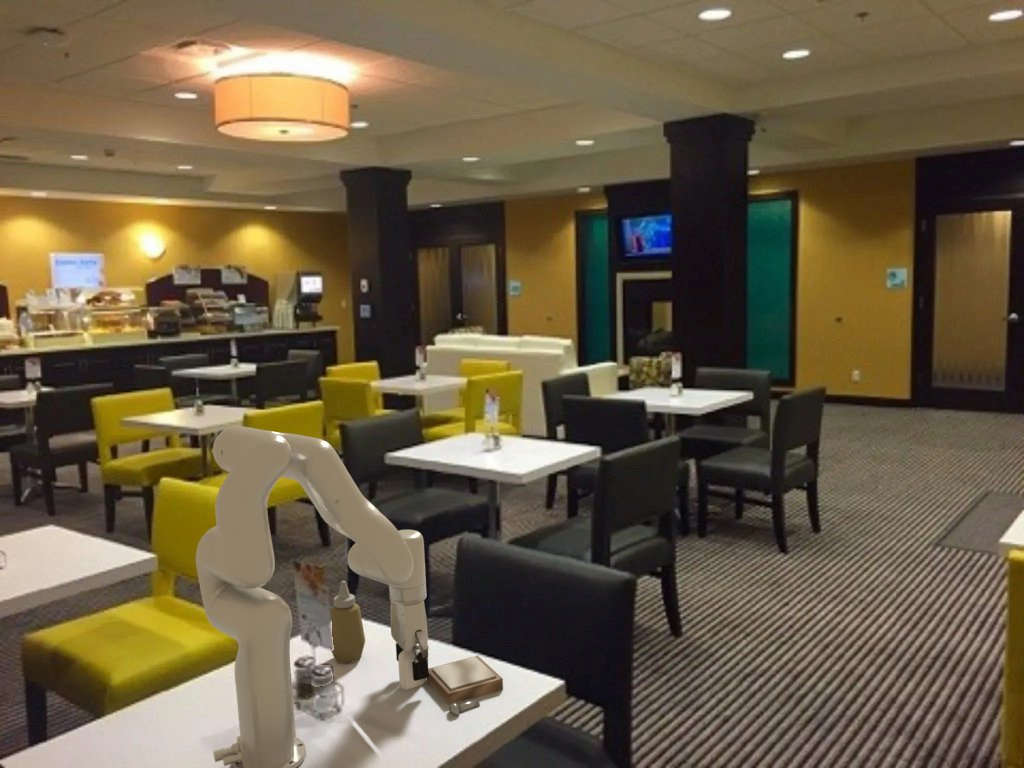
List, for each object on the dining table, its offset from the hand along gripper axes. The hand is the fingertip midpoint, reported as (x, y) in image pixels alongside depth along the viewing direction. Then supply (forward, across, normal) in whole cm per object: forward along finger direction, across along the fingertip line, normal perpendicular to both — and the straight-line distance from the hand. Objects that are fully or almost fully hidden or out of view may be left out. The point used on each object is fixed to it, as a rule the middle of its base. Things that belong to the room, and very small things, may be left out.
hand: (412, 669), depth 179 cm
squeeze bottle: (+4, -20, -8) cm, 22 cm away
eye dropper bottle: (+4, 0, 0) cm, 4 cm away
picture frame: (+4, +6, +9) cm, 11 cm away
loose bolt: (+3, +14, +6) cm, 16 cm away
